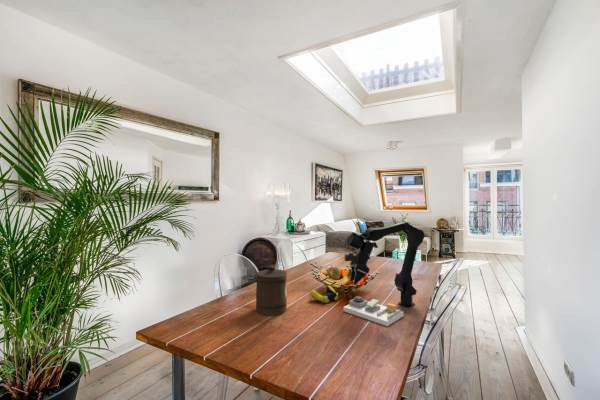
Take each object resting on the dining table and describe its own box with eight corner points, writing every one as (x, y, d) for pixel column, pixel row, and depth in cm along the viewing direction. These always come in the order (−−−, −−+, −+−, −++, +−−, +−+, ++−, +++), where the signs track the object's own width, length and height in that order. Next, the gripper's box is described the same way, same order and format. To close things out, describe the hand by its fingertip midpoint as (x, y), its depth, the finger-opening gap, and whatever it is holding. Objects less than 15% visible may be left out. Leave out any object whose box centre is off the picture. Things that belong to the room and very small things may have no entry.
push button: (357, 299, 143) (357, 295, 143) (364, 301, 141) (364, 297, 141) (352, 301, 141) (352, 297, 141) (359, 303, 138) (359, 299, 138)
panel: (360, 303, 148) (360, 295, 148) (403, 316, 132) (403, 307, 132) (343, 311, 138) (343, 302, 138) (387, 326, 121) (387, 316, 121)
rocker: (373, 300, 138) (373, 298, 138) (379, 302, 136) (378, 300, 136) (366, 306, 134) (366, 304, 134) (372, 308, 132) (372, 306, 132)
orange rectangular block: (389, 310, 133) (389, 303, 133) (396, 312, 131) (396, 305, 131) (386, 311, 132) (386, 304, 132) (394, 313, 129) (394, 306, 129)
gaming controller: (309, 300, 153) (322, 305, 145) (309, 290, 153) (322, 294, 145) (329, 294, 162) (342, 299, 154) (329, 284, 162) (342, 289, 154)
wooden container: (292, 309, 140) (292, 264, 139) (269, 318, 129) (269, 270, 129) (272, 302, 150) (272, 260, 150) (249, 310, 139) (249, 264, 139)
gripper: (346, 245, 150) (335, 273, 148) (352, 247, 131) (339, 279, 130) (366, 254, 149) (355, 282, 148) (375, 257, 131) (362, 289, 129)
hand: (352, 282), depth 138 cm, fingers open, 9 cm apart
